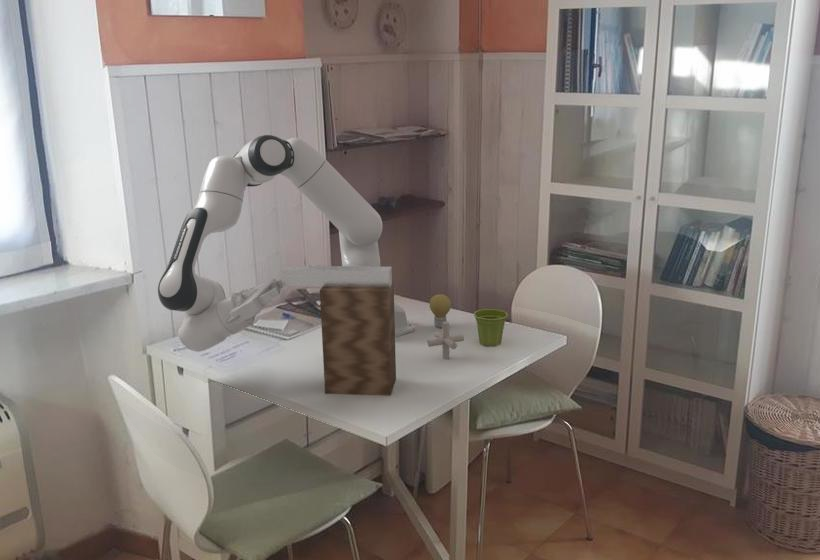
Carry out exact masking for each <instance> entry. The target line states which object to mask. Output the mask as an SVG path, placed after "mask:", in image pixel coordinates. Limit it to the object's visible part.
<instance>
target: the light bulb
mask: <svg viewBox="0 0 820 560" xmlns="http://www.w3.org/2000/svg"><path fill="white" fill-rule="evenodd" d="M451 307H452V302H451V299H450V298H449V297H448V296H447V295H445V294H441V293H439V294H436V295H434V296H432V297H431V298H430V300H429V309H430V311H431V312H432V314H433V315H434V316H433V323H434V327H436V328H440V329H442V322H448V320H447V318H448V317H447V314H448V313H449V312H450V310H451Z"/></svg>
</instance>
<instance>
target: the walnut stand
mask: <svg viewBox="0 0 820 560" xmlns="http://www.w3.org/2000/svg"><path fill="white" fill-rule="evenodd" d="M394 282H395V281H394V279H392V284H391V286H390V288H386V287H321V288H320V289H319V300H320V301H319V302H320V319H321V320H320V322H321V323H320V324H321V338H322V344H321V345H322V357H323V358H322V361H323V378H324V379H323V382H324V394H328V395H329V394H331V395H333V394H334V395H363V396H364V395H367V396H391V395H392V393H393V389H394V386H395V384H396V381H397V372H396V371H397V367H396V366H397V365H396V359H397V358H396V337H395V316H394V303H395V283H394Z"/></svg>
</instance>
